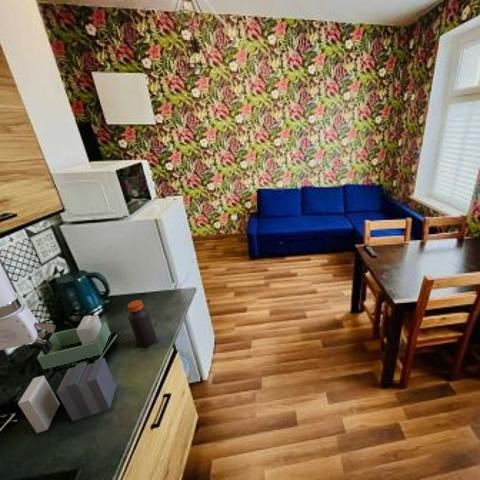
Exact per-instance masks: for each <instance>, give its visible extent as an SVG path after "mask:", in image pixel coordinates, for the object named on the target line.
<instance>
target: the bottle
mask: <svg viewBox="0 0 480 480" xmlns="http://www.w3.org/2000/svg"><path fill="white" fill-rule="evenodd" d="M127 309H128V312H129V314H128V316H127V317H128V321H129V324H130V326H131V330H132V333H133V337H134V339H135V341H136V344H137V346H138V348H141V349H147V348H150V347H152V346H153V345H154V344H155V343H156V342H157V339H158V338H157V335H156V332H155V329H154V325H153V322H152V319H151V316H150V313H149V310H148V309H147V308H144V303H143V301H142V300H140V299H136V300H133V301H130V302H129V303H128V304H127Z"/></svg>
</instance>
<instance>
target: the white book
mask: <svg viewBox="0 0 480 480" xmlns="http://www.w3.org/2000/svg"><path fill="white" fill-rule="evenodd" d="M17 405H18V406H19V408H20V409H21V411H22V412H23V414H24V415H25V417H26V419H27V420H28V422H29V424H31V426H32V428H33V429H34V431H35V432H36V434H38V433H39V434H40V433H42V432H45V431H48V429H49V427H50V425H51V423H52V421H53V419H54V417H55V415H56V413H57V410H58V408H59V406H60V402H59V400H58V398H57V397H56V394H55V393H54V391H53V390H52V387H51V386H50V384H49V382H48V380H47V379H46V377H45V375H40V376H37V377H33V378H32V380H31V381H30V383H29V385H28V387H27V388H26V390H25V391H24V393H23V395H22V396H21V398H20V399H19V401H18V402H17Z"/></svg>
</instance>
